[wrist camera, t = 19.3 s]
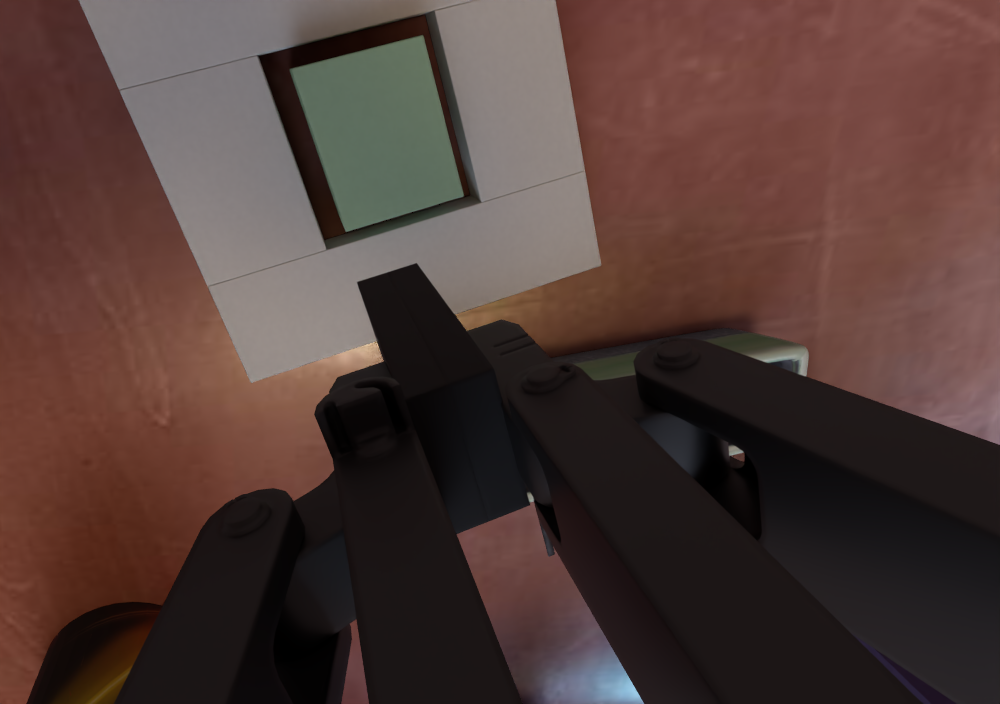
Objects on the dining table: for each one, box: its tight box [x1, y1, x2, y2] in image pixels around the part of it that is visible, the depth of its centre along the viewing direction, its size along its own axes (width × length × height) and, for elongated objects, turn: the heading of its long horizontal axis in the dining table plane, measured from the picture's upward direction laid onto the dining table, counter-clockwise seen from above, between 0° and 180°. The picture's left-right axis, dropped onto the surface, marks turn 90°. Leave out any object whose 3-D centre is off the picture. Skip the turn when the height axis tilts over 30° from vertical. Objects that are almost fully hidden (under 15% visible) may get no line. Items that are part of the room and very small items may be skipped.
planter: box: [524, 328, 809, 502], centre depth 45 cm, size 28×7×7 cm, turn 93°
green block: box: [289, 35, 464, 232], centre depth 36 cm, size 8×6×4 cm
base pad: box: [79, 0, 601, 383], centre depth 37 cm, size 22×22×2 cm
